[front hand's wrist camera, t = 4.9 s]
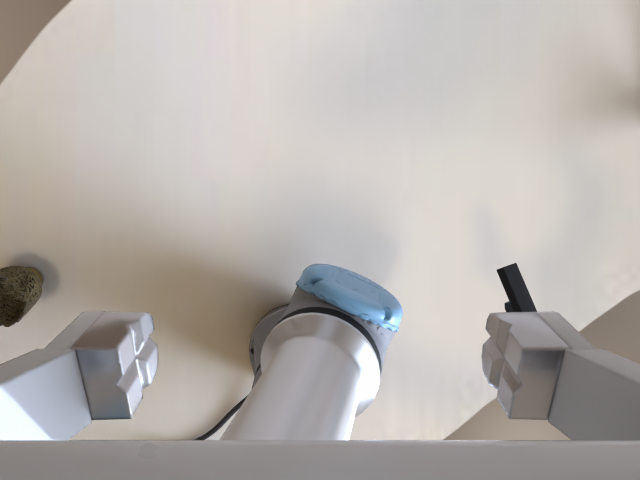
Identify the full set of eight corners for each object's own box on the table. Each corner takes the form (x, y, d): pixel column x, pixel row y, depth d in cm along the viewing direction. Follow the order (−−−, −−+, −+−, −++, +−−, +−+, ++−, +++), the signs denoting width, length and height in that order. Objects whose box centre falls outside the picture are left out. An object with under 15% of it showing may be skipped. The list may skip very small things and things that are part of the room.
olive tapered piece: (65, 267, 62) (30, 293, 54) (50, 306, 64) (15, 336, 57) (14, 244, 61) (-29, 267, 53) (1, 285, 63) (-42, 312, 55)
